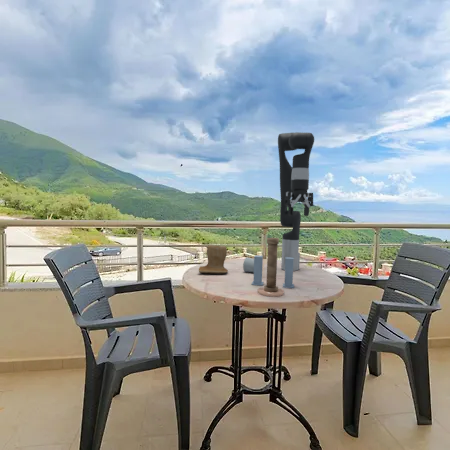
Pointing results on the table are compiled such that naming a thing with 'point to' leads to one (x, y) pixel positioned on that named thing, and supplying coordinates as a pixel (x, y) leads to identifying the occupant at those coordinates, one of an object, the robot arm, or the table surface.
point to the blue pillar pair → (288, 271)
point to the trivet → (270, 294)
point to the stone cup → (215, 260)
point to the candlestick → (272, 265)
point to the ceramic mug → (248, 265)
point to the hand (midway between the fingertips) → (298, 215)
